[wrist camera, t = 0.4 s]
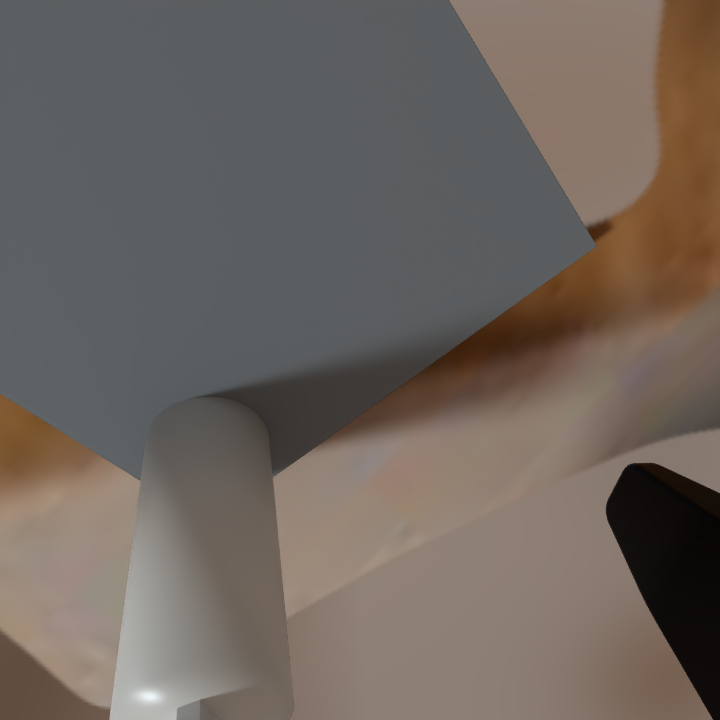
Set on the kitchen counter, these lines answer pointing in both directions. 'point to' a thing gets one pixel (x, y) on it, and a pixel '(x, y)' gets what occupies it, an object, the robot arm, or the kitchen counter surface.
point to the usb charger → (205, 574)
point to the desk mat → (254, 209)
